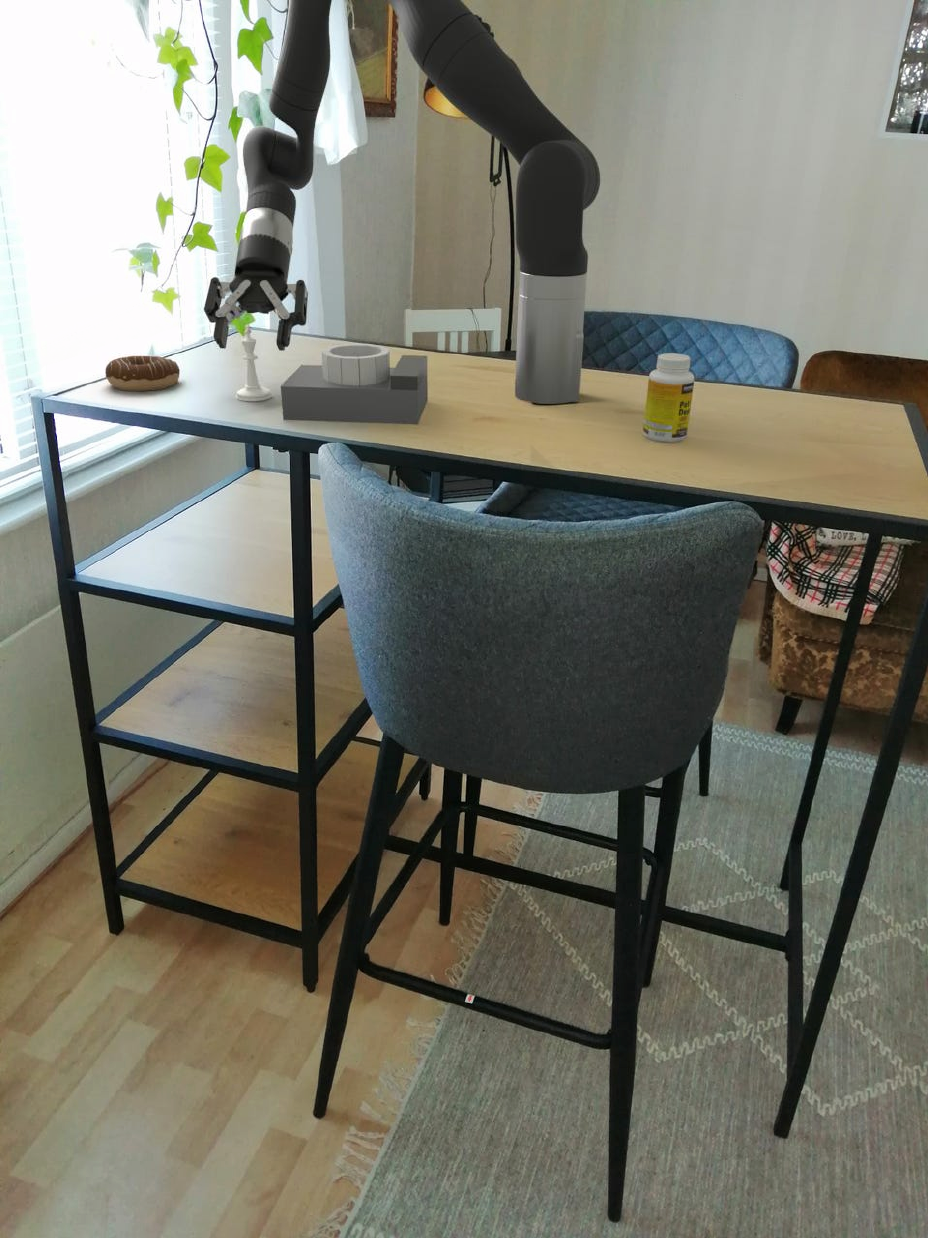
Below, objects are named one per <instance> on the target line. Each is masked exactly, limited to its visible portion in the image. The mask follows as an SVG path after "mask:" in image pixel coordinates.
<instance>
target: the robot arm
mask: <svg viewBox="0 0 928 1238" xmlns="http://www.w3.org/2000/svg"><path fill="white" fill-rule="evenodd" d="M332 1H333V0H289V7H288V15H287V23H286V28H285V32H284V38H283V43H282V46H281V47H282V48H281V52H280V55H279V59H278V62H277V63H278V64H277V68H276V71H275V75H274V77H273V79H274V80H273V83H272V87H271V90H270V94H269V97H268V98H269V99H268V107H269V110H270V112H271V113H272V115H274V116H275V118H277V119H278V120H279V121H280V122H282V123H284V124H285V125H286V126H288V127H290V129H292V130H293V131H294V133H295V135H296V137H294V136H292V135H289V134H286V133H283V132H281V131H278V130H275V129H273V128H271V127H268V126H265V125H258V126H255V127H253V128H252V129H250V130H249V131H248V132H247V134H246V136H245V138H244V142H243V146H242V147H243V148H242V159H243V167H244V172H245V177H246V182H247V183H246V185H247V193H248V194H247V202H246V207H245V208H246V209H245V215H244V220H243V223H242V226H241V228H240V236H239V241H238V248H237V253H236V254H237V255H236V260H235V265H234V266H235V267H234V276H233V278H232V279H231V280H230V282H229V281H227V282H226V281H220V279H219V278H218V277H216V276H215V277H212V278H211V279H210V280H209V281H210V282H209V286H208V290H207V294H206V298H205V302H204V307H203V311H204V313H205V315H206V317H207V319H208V321H209V323H211V324H213V323H214V330H213V339H214V341H215V343H216V345H218V347H219V348H220V349H224V350H225V349H226V348H227V344H228V337H229V330H230V326H229V325H230V324H231V323H232V322H233V321H234V320H235V319H240V317H242V315H244V314H245V312H246V313H247V314H256V313H260V314H264V315H269V313H271V312H273V313H274V314H275V315H276V317H277V319H278V327H277V334H276V340H275V341H276V346H277V348H278V350H279V351H285V349H286V348H288V347H289V346H290V344H291V336H292V329H293V327H295V326H298V325H299V326H300V327H301V326H302V327H303V326H306V324H307V318H308V317H307V315H308V301H309V300H308V297H309V292H308V289H307V285H306V283H305V281H304V280H303V279H298V280H297V281H296V283H288V278H289V271H290V264H291V259H292V258H291V257H292V254H293V242H294V241H293V240H294V239H293V237H294V236H293V234H294V233H293V232H294V231H293V230H294V223H295V215H296V209H297V200H296V196H295V194H294V192H293V190H295V191H297V190H298V191H299V190H302V189H303V188H305V187H306V186H307V185H308V184H309V183H310V181H311V179H312V177H313V172H314V164H315V162H314V160H315V158H314V157H315V152H314V149H315V148H314V145H315V144H314V141H315V140H314V139H315V129H316V122H317V119H318V118H317V116H318V114H319V109H320V107H321V103H322V100H323V96H324V93H325V89H326V86H327V82H328V79H329V75H330V74H329V73H330V68H331V41H330V37H331V36H330V14H331V13H330V12H331V6H332ZM386 1H387V2H388V3H389V5H390V6H391V8H392V10H393V11H394V12H395V15H396V17H397V19H398V21H399V25H400V28H401V30H402V33H403V36H404V39H405V43H406V44H407V48H408V49H409V52H410V53H411V56H412V58H413V60H414V61H415V63H416V64H417V65H418V67H419V68H420V70H421V71H422V72H423V73H424V75H425V76H426V77H427V78H428V79H429V80H430V82H431V83H432V84H433V85H434V87H436V89H437V90H438V92H440V94H442V95H443V96H444V98H445V99H446V100H447V101H448V102H449V103H450V104H451V105H452V106H454V107H455V109H457V110H459V112H461V113H462V115H463V114H464V116H466V117H467V118H468V119H470V121H472V122H474V123H475V124H476V125H478V126H479V127H480V128H482V129H483V130H485V131H486V132H487V133H488V134H490V135H491V136H492V137H493V138H495V139H496V140H497V141H498V142H499V143H500V144H502V146H503V147H504V148H506V150H507V151H508V152H509V154H510V155H511V156H512V158H513V159H514V160H515V161H516V162H517V164H518V165H519V169H518V173H517V178H516V186H515V187H516V189H515V245H516V249H517V253H518V256H519V281H518V283H519V284H518V306H517V307H518V309H517V330H516V331H517V332H516V334H517V335H516V354H515V356H516V357H515V360H516V361H515V379H514V382H515V383H514V387H515V388H514V396H515V397H516V398H517V399H519V400H521V401H524V402H529V403H534V404H542V405H554V404H555V405H556V404H557V405H558V404H566V403H579V401H580V392H581V391H580V389H581V378H582V375H581V374H582V362H583V349H584V331H583V330H584V319H585V318H584V317H585V302H586V289H587V288H586V287H587V276H588V275H587V274H588V273H587V272H588V261H589V254H588V251H587V249H586V247H585V245H584V239H583V226H584V225H583V220H584V210H586V209H587V208H588V207H590V206H591V205H592V204H593V203H594V201H595V199H596V198H597V196H598V193H599V191H600V186H601V172H600V168H599V165H598V161H597V158H596V157H595V154H594V153H593V152H592V151H591V150H590V148H589V147H588V146H587V145H586V144H585V143H583V142H582V141H581V140H580V138H578V137H577V136H576V135H575V134H574V133H573V132H572V131H571V130H569V128H568V127H567V126H565V125H564V123H562V122H561V120H560V119H559V118H558V117H556V116H555V115H554V114H553V113H552V112H551V111H550V109H548V108H547V106H546V105H545V104H544V103H543V102H542V101H541V100H540V98H539V97H538V96H537V95H536V93H535V92H534V91H533V89H532V88H531V87H530V85H529V84H528V82H527V80H526V79H525V78H524V77H523V75H522V74H521V72H520V71H519V69H518V68H517V67H516V66H515V65H514V63H513V62H512V61H511V60H510V58H509V57H508V55H506V53H505V52H504V51H503V49H502V48H501V47H500V45H499V44H498V43H497V42H496V40H495V38H494V37H493V36H492V35H491V33H490V32H489V31H488V29H486V28H485V27H484V25H483V24H482V23H481V21H480V20H479V19H478V18H477V17H476V15H475V14H474V13H473V12H472V11H471V10H470V8H469V7H468V6H466V4H465V3H464V2H463V1H462V0H386ZM228 293H231V294H230V295H229V296H227V294H228ZM289 294H290V295H291V296H292V298H293V300H294V311H292V312H289V311H288V309H287V308H286V307H285V305H284V304H283V301H284V300H285V299H286V298H287V297H288V296H289ZM226 296H227V297H226ZM225 298H226V299H225ZM224 299H225V301H224V304H223V305H222V300H224ZM237 303H238V305H237Z"/></svg>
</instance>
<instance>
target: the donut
mask: <svg viewBox="0 0 928 1238" xmlns="http://www.w3.org/2000/svg"><path fill="white" fill-rule="evenodd" d="M180 373H181V372H180V368H179V365H178V363H177V362H176V361H174V360H173V359H171V358H166V357H162V356H157V355H154V356H153V355H152V356H151V355H130V356H129V355H127V356H122V357H118V358H115V359H112V360H111V361H109V363H107V365H106V367H105V377H106V379H107V381H108V383H109V384H110V385H112V386H113V387H114V388H116V389H119V390H122V391H129V392H148V391H158V390H163V389H166V388H169V387H171V386H174V385H175V384H176V383H177V382H178V380H179V379H180Z"/></svg>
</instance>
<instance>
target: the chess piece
mask: <svg viewBox="0 0 928 1238" xmlns="http://www.w3.org/2000/svg"><path fill="white" fill-rule="evenodd" d="M244 328H245V330H244V335H245V336H246V337H244V338H242V339H241V343H242V346H243V348H244V351H245V354H244V355H242V359H243V360H246V363H247V365H246V367H247V368H246V369H247V370H246V371H247V372H246V384H244V388H241V389H238V391H236V399H237V400H239V401H241V402H242V401H243V402H261V401H267V400H268V399H271V398H272V393H271V390H270V389H268V388H267V387H263V386H262V384H261V383H259V378H258V375H257V370H256V365H255V360H258V359H259V356H258V355H257V354H255V353H254V351H255V348H256V345H257V344H256V343H257V339H255V338H254V337H251V333H252V328H250V324H246V325H245V327H244Z"/></svg>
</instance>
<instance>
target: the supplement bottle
mask: <svg viewBox="0 0 928 1238" xmlns="http://www.w3.org/2000/svg"><path fill="white" fill-rule="evenodd" d="M690 368H691V357H690V355H688V354H682V353H677V352H676V353H675V352H673V353H672V352H671V353H669V352H667V353H661V354H658V356H657V361H656V369H653V370H652V371H650V373H649V376H648V383H647V391H646V392H647V393H646V403H645V412H644V420H643V427H642V428H643V429H642V430H643V433H642V434H643V435H644V437H646V438H647V439H649V440H651V441H654V442H658V443H678V442H681V441H683V440H685V439H686V437H687V435H688V429H689V423H690V415H691V409H692V408H691V406H692V400H693V392H694V386H695V385H694V384H695V375H694V374H693V372H691V371H690Z"/></svg>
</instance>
